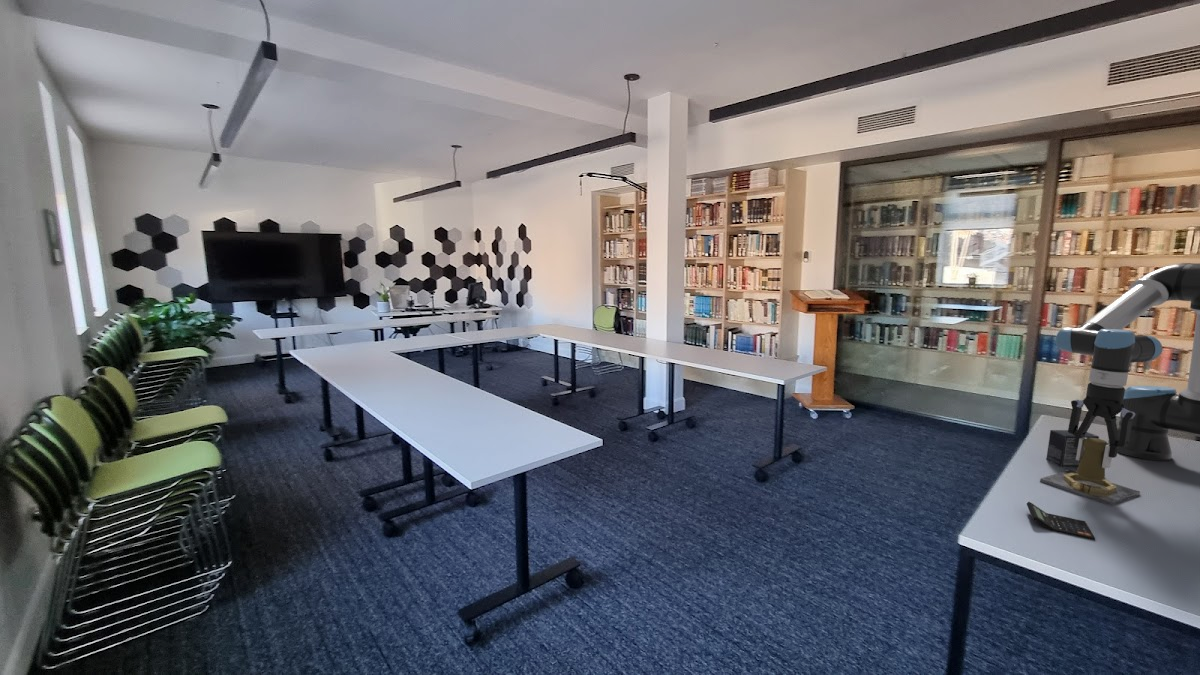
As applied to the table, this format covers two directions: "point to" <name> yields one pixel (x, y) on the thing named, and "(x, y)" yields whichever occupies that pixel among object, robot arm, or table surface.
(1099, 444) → the cork
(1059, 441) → the small box
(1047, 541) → the table surface
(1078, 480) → the socket
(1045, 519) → the calculator
